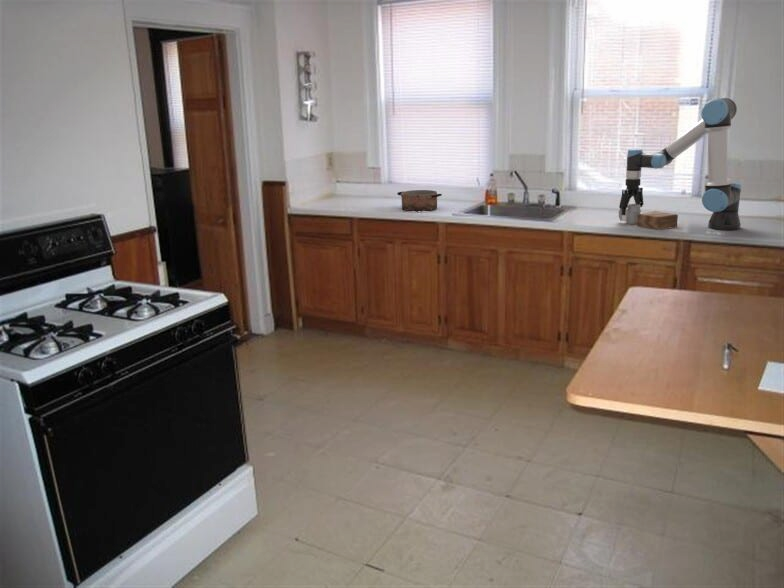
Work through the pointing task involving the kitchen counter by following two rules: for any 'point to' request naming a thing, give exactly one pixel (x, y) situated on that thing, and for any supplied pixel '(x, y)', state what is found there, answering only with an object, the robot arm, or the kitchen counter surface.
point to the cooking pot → (419, 200)
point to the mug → (631, 213)
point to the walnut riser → (657, 220)
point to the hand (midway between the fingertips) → (630, 219)
